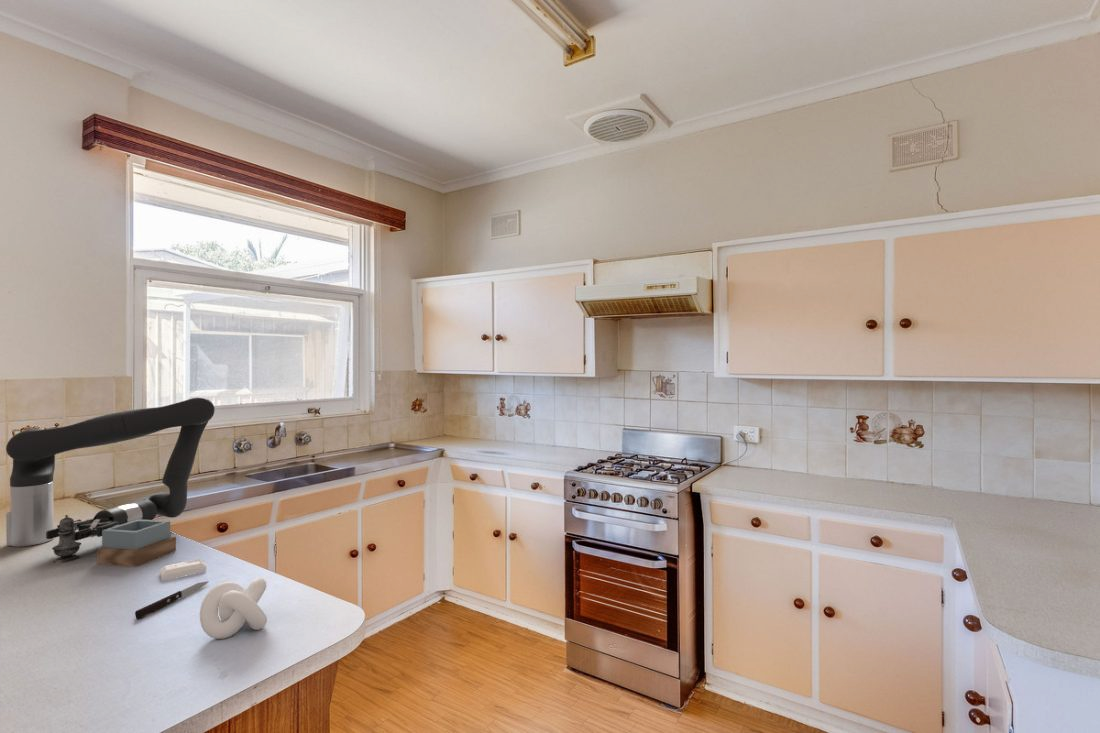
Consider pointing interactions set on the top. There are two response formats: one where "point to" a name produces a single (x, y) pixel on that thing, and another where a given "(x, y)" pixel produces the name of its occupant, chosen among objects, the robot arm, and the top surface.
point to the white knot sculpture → (232, 608)
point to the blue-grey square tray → (135, 534)
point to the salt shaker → (66, 542)
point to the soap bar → (182, 569)
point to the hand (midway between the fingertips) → (60, 536)
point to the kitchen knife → (167, 600)
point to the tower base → (136, 553)
